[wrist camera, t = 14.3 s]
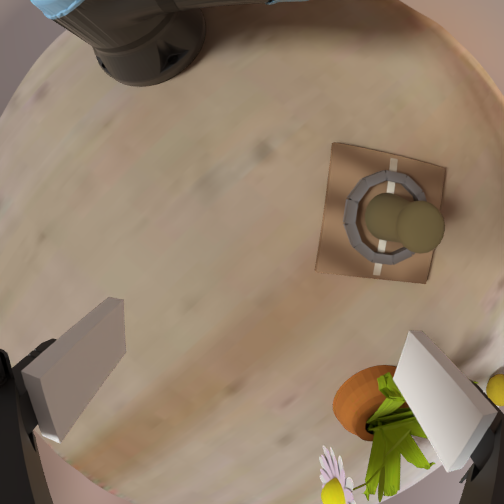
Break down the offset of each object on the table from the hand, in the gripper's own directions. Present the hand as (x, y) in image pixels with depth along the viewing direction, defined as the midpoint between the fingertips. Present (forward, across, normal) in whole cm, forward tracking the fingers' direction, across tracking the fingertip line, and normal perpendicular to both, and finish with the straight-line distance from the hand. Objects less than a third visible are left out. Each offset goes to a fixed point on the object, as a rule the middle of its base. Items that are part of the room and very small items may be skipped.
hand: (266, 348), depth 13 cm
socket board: (+27, +15, +5) cm, 31 cm away
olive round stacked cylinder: (+26, +15, +5) cm, 30 cm away
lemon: (+27, +47, -21) cm, 58 cm away
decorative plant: (+27, +22, -24) cm, 42 cm away
